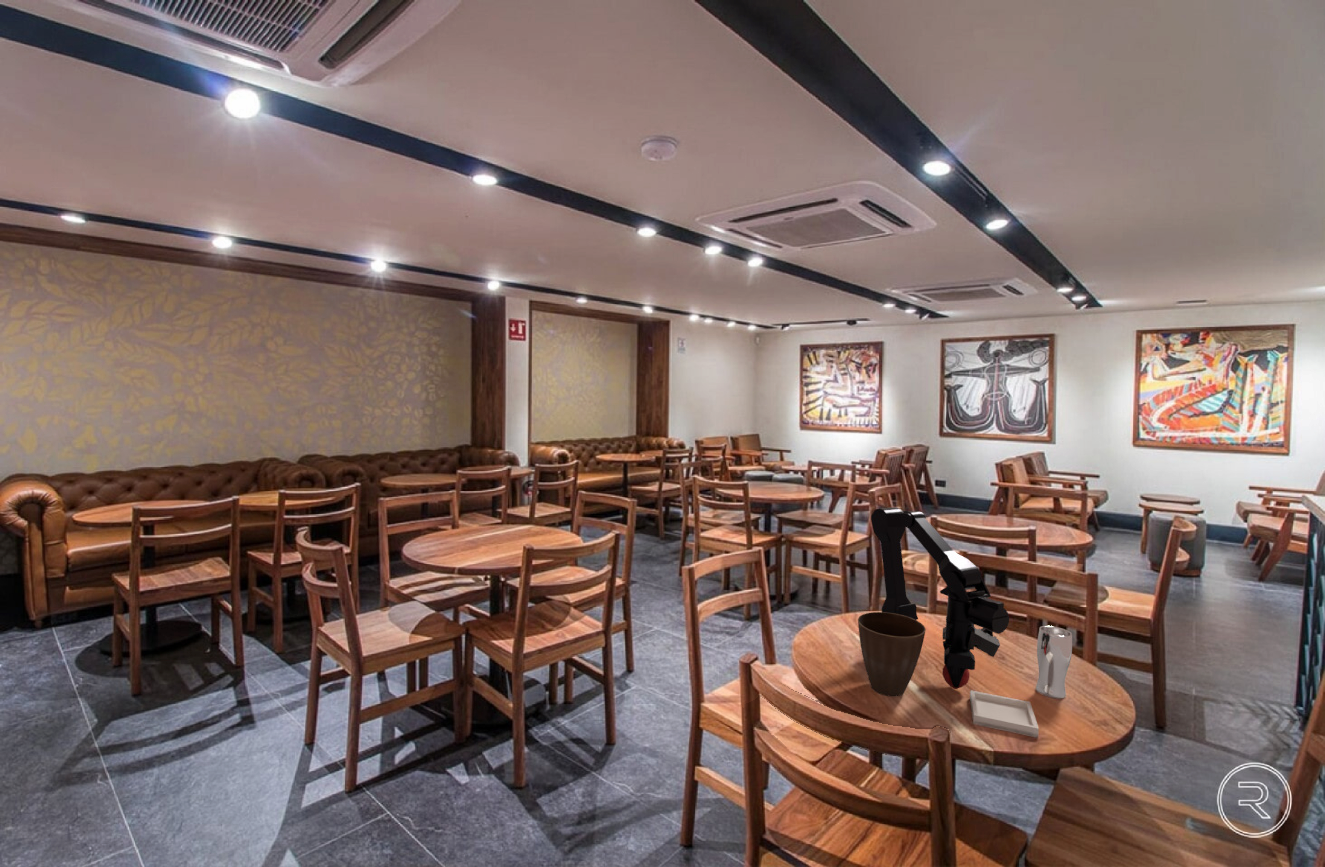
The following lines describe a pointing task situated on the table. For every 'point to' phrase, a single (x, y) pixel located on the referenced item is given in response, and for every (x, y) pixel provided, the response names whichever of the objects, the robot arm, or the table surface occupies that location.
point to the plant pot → (890, 650)
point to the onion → (949, 682)
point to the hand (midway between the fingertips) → (955, 681)
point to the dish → (1003, 713)
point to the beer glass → (1053, 660)
